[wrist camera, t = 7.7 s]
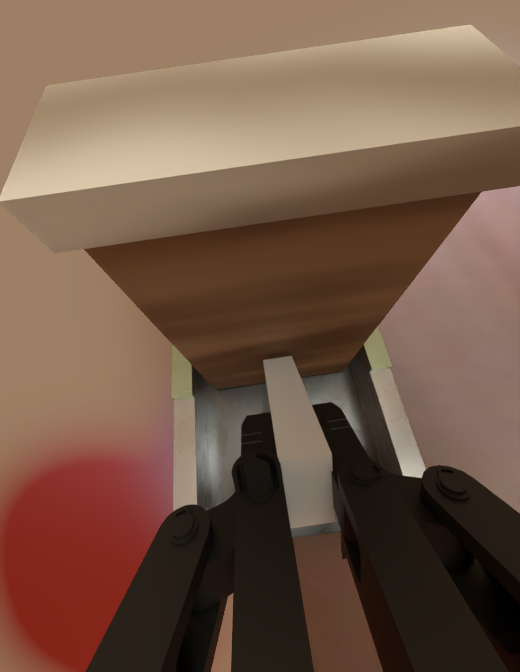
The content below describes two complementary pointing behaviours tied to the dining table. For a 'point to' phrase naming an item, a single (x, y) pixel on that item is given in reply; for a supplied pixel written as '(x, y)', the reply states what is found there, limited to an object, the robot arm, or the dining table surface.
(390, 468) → the track
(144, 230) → the brown wooden tall block
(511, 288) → the dining table surface
